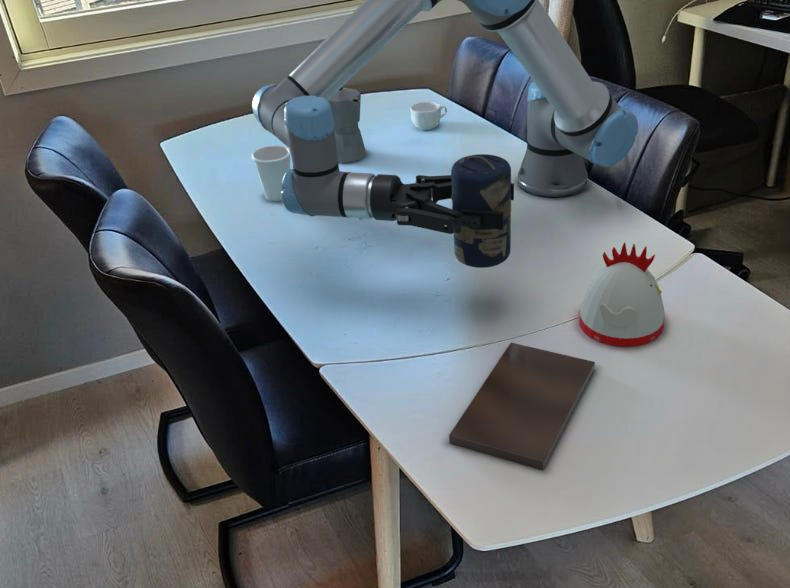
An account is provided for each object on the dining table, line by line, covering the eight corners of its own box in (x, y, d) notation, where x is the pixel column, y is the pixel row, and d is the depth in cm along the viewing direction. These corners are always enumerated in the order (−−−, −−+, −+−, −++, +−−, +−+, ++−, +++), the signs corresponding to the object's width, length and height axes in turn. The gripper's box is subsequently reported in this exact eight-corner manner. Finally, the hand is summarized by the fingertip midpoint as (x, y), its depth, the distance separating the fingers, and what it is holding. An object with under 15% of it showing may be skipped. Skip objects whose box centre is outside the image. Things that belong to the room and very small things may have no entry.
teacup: (420, 135, 210) (418, 114, 207) (406, 125, 216) (404, 105, 213) (454, 126, 214) (453, 106, 211) (440, 117, 219) (439, 97, 216)
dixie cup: (293, 184, 189) (287, 142, 183) (300, 199, 183) (293, 156, 177) (256, 190, 187) (248, 148, 181) (262, 206, 181) (254, 163, 175)
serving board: (510, 349, 136) (510, 342, 135) (594, 369, 131) (595, 361, 130) (449, 443, 118) (448, 435, 117) (543, 469, 113) (543, 461, 112)
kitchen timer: (655, 353, 133) (666, 272, 124) (571, 338, 137) (575, 259, 129) (668, 307, 144) (679, 229, 135) (589, 294, 148) (594, 218, 139)
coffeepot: (380, 156, 200) (373, 82, 189) (349, 169, 195) (340, 93, 184) (340, 140, 209) (331, 68, 199) (309, 152, 204) (299, 78, 193)
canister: (471, 278, 136) (468, 175, 125) (444, 253, 143) (439, 153, 132) (521, 262, 139) (523, 161, 128) (492, 238, 146) (492, 140, 135)
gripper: (394, 188, 149) (518, 196, 145) (356, 249, 132) (496, 260, 128) (391, 148, 145) (519, 155, 140) (351, 206, 128) (496, 216, 123)
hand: (508, 205), depth 134 cm, fingers closed on canister, 9 cm apart
